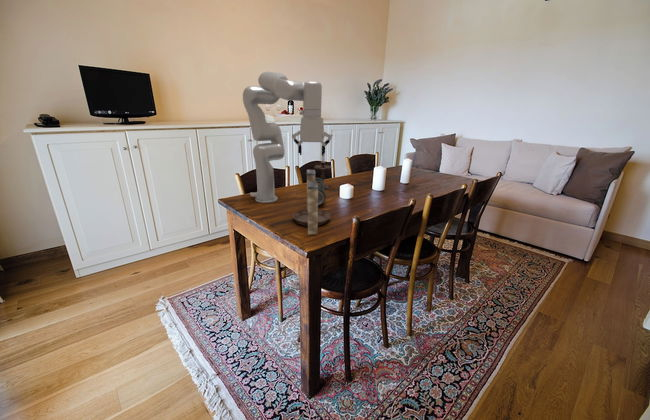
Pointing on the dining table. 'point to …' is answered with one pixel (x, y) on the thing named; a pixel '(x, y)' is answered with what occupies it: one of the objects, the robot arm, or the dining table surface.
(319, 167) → the candlestick
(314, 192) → the post front
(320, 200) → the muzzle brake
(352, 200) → the dining table surface
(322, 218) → the plant saucer
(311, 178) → the post back
